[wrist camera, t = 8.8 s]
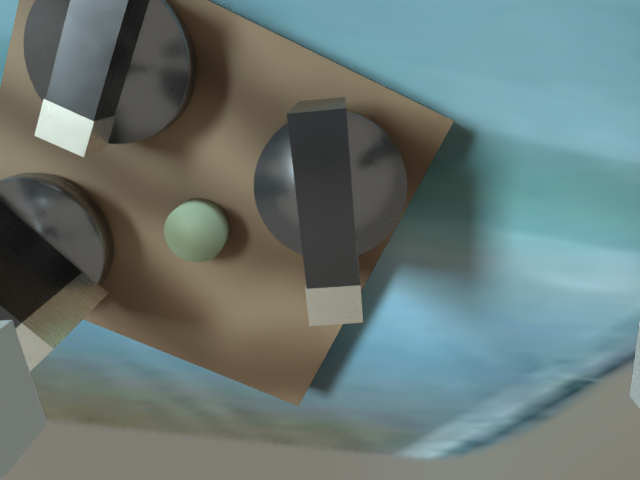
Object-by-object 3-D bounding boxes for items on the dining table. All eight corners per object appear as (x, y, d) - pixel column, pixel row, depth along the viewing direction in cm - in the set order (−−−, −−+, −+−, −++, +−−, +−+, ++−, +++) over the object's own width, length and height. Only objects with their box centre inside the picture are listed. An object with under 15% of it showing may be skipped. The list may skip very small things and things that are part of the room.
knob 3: (247, 103, 23) (213, 120, 17) (400, 89, 22) (422, 101, 16) (269, 264, 26) (247, 329, 20) (406, 254, 25) (427, 318, 19)
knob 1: (64, -56, 21) (13, -77, 18) (219, 19, 22) (196, 12, 18) (27, 101, 23) (-25, 109, 20) (167, 164, 24) (140, 182, 21)
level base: (62, -72, 23) (19, -92, 20) (445, 116, 25) (459, 124, 22) (-15, 256, 29) (-56, 279, 26) (300, 384, 31) (296, 419, 28)
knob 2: (-56, 227, 26) (-180, 280, 20) (23, 135, 24) (-87, 162, 18) (68, 330, 28) (-10, 408, 21) (150, 252, 26) (90, 313, 20)
